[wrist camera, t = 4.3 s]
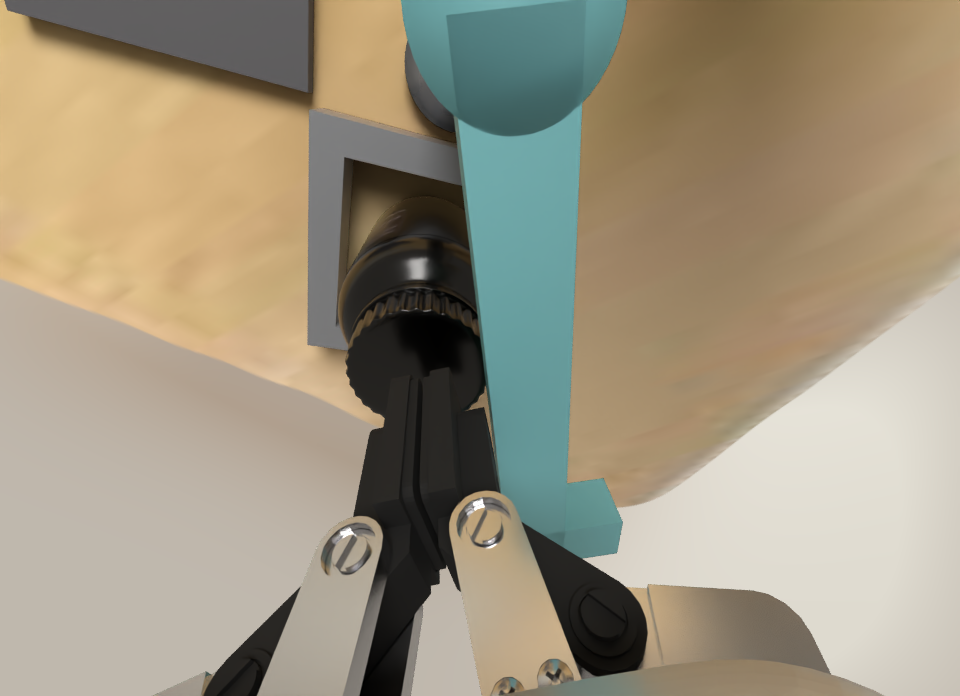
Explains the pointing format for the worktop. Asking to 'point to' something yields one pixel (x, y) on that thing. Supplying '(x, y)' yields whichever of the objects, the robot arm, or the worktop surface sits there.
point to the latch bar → (525, 226)
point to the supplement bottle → (412, 303)
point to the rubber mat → (201, 31)
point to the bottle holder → (330, 199)
